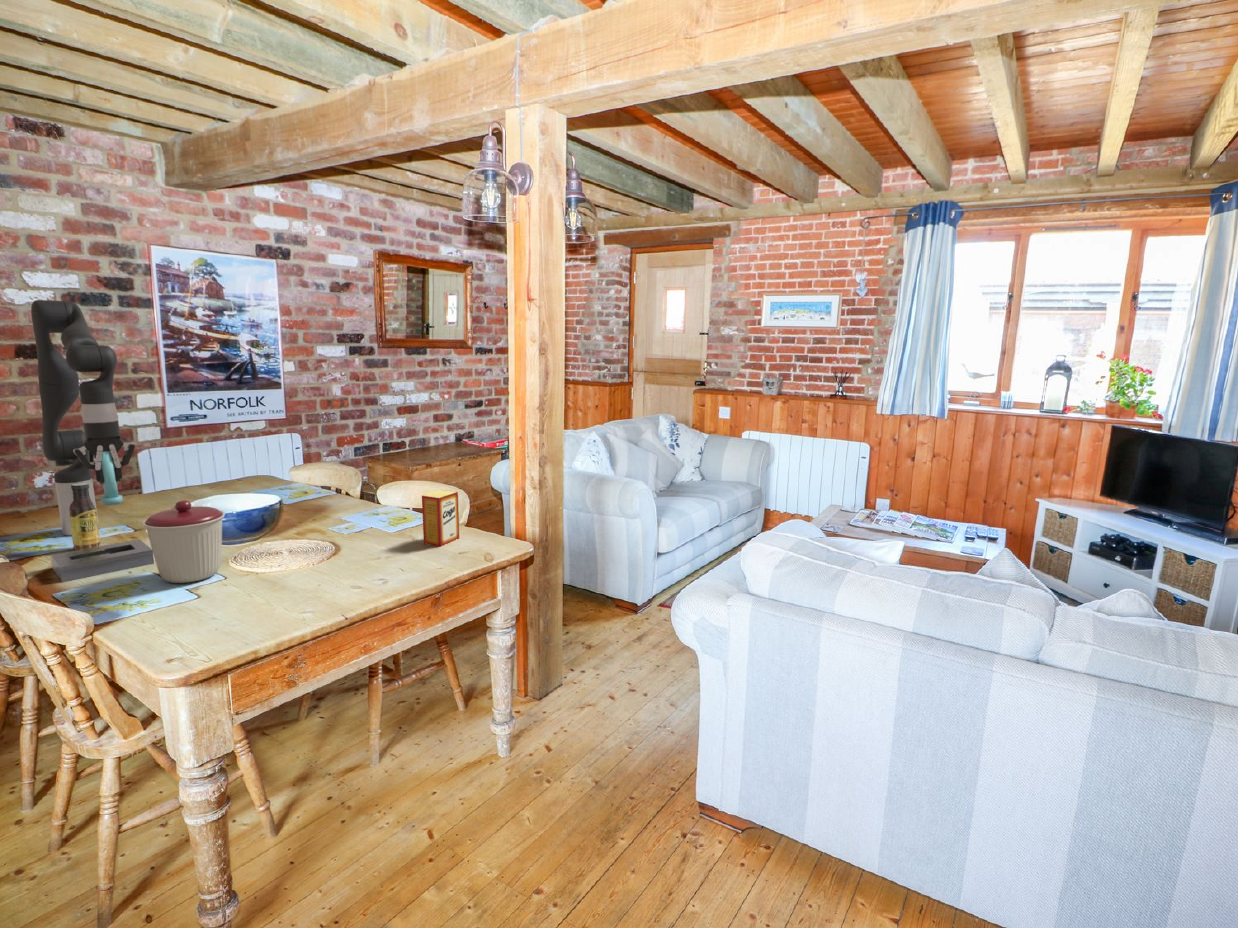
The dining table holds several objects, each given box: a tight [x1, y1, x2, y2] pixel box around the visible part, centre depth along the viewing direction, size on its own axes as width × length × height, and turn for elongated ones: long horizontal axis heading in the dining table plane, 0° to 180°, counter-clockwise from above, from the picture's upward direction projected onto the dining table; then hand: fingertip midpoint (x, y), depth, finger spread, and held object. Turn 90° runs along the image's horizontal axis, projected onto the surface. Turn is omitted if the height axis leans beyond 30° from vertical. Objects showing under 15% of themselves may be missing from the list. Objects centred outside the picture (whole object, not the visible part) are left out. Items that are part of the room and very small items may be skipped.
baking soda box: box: [421, 489, 460, 548], centre depth 205 cm, size 10×6×16 cm
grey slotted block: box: [50, 538, 155, 583], centre depth 179 cm, size 14×20×4 cm
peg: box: [100, 451, 124, 506], centre depth 178 cm, size 5×5×15 cm
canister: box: [141, 500, 226, 584], centre depth 171 cm, size 18×18×21 cm
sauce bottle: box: [69, 483, 101, 551], centre depth 192 cm, size 6×6×20 cm
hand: (109, 481), depth 178 cm, fingers closed on peg, 3 cm apart
